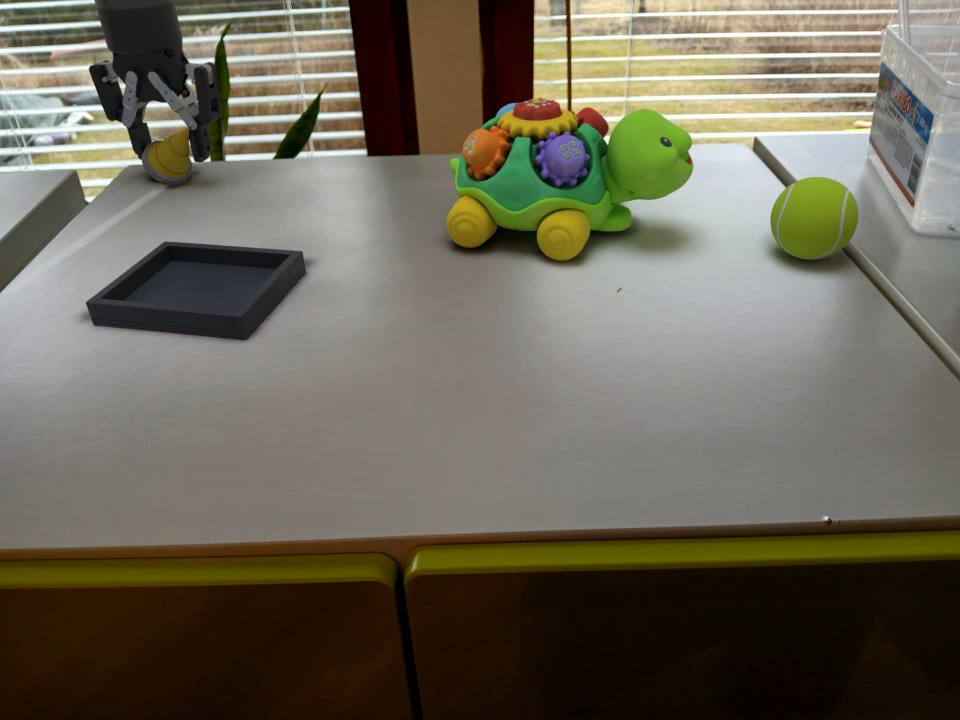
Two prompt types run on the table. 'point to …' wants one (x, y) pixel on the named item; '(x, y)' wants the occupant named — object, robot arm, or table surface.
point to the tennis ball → (814, 218)
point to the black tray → (199, 289)
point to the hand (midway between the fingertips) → (174, 158)
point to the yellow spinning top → (169, 159)
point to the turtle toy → (562, 173)
